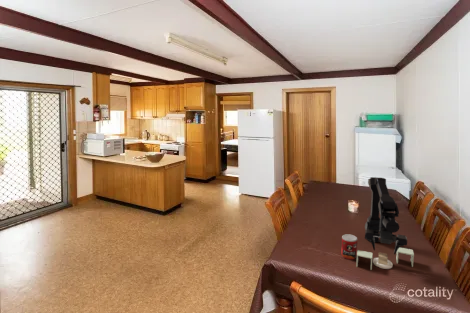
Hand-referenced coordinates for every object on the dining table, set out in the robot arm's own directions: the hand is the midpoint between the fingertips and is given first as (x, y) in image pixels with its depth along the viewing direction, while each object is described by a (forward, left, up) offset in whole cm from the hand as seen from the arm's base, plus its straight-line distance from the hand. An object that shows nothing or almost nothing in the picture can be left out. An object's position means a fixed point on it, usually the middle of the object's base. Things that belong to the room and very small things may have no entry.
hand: (384, 252), depth 138 cm
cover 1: (0, -12, -6) cm, 13 cm away
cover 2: (+3, +10, -6) cm, 12 cm away
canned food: (-10, -14, -6) cm, 18 cm away
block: (+1, -2, -5) cm, 5 cm away
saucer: (+1, -2, -6) cm, 6 cm away
